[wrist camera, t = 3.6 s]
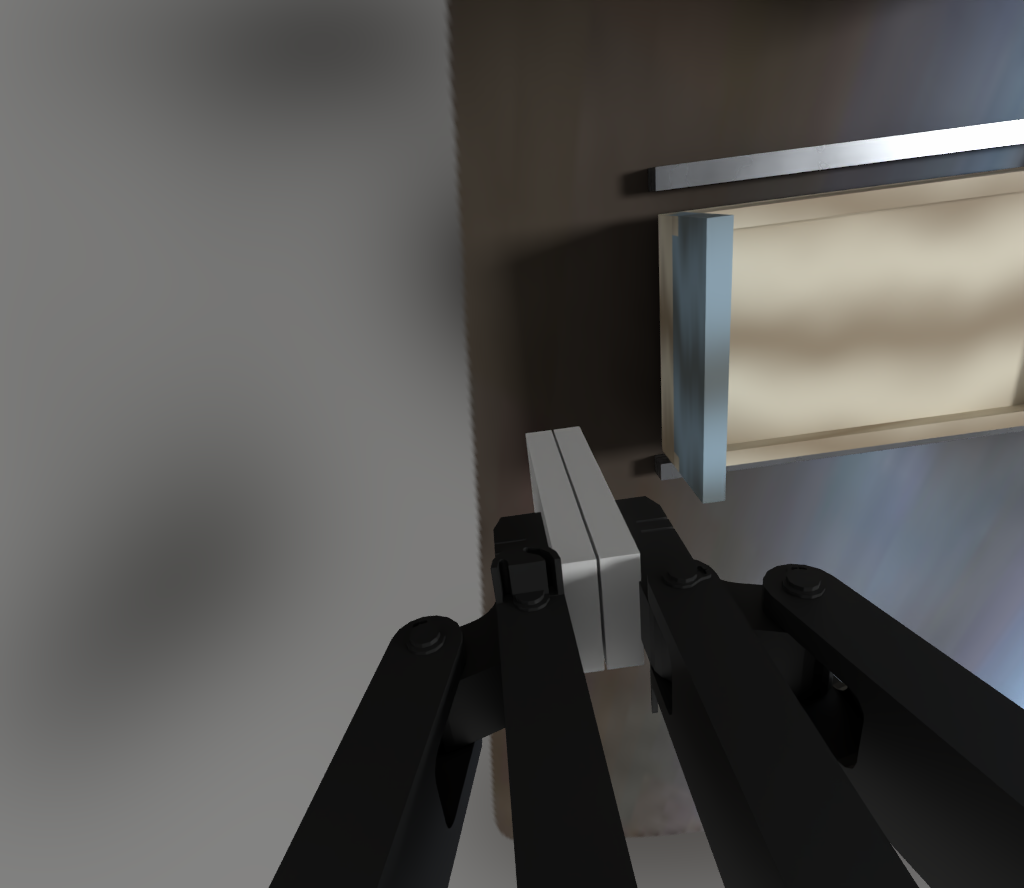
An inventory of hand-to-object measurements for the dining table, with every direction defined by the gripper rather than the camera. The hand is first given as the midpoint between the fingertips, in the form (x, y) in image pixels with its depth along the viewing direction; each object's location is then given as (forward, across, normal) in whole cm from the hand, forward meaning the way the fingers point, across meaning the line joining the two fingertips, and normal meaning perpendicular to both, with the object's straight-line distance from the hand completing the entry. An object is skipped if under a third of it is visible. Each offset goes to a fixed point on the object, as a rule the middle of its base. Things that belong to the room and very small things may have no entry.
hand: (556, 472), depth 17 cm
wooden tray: (+14, +16, 0) cm, 22 cm away
